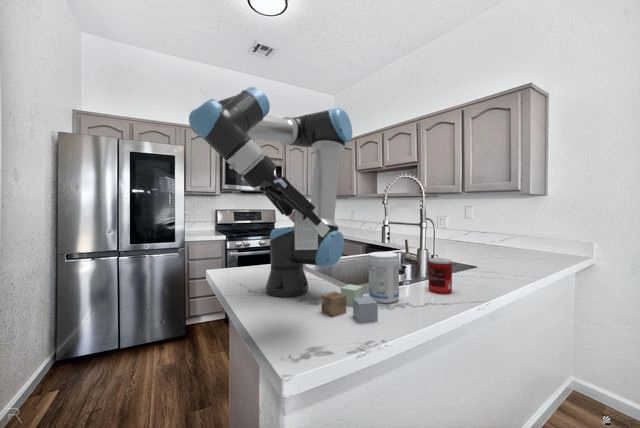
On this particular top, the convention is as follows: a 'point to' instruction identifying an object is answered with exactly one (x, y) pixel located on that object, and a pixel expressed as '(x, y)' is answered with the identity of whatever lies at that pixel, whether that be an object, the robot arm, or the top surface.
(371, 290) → the supplement tub
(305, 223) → the small box
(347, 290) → the sage green block
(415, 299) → the top surface
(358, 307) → the slate grey block
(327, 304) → the walnut block
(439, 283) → the canned food
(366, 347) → the top surface
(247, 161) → the robot arm
